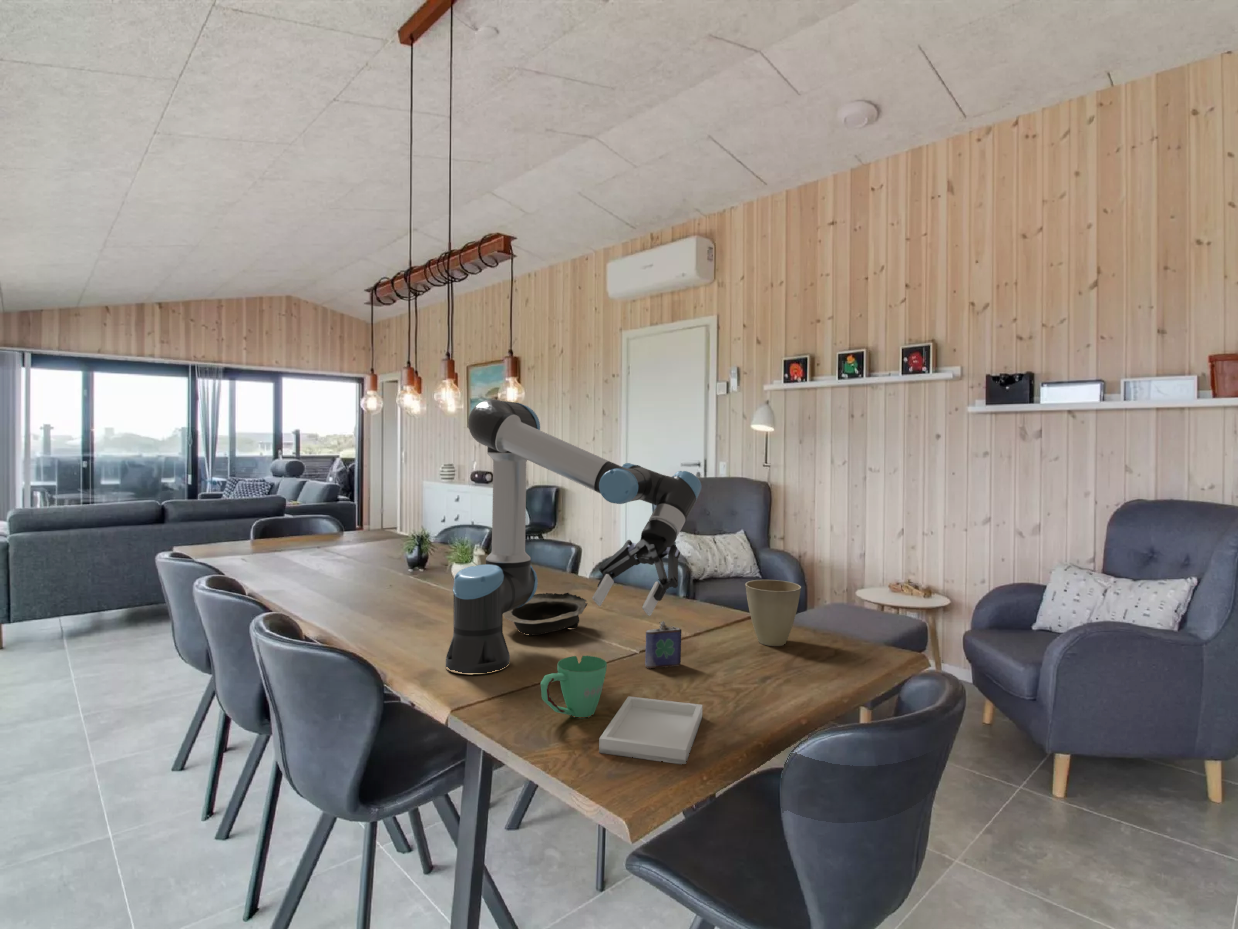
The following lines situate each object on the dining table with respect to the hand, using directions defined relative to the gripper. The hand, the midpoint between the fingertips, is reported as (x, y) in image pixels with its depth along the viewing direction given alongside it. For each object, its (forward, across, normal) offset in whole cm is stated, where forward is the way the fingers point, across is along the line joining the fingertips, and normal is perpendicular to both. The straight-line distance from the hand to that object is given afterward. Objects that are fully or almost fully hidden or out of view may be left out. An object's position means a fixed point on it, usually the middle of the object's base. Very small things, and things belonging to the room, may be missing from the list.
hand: (620, 607), depth 133 cm
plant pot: (-28, -5, -56) cm, 63 cm away
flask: (-3, +6, -31) cm, 32 cm away
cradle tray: (+20, -15, -8) cm, 26 cm away
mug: (+23, +2, -5) cm, 23 cm away
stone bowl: (-4, +50, -32) cm, 59 cm away
